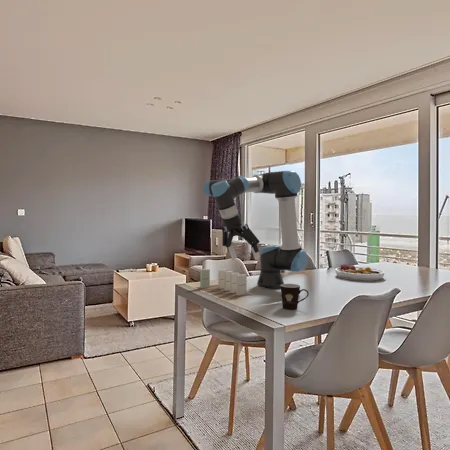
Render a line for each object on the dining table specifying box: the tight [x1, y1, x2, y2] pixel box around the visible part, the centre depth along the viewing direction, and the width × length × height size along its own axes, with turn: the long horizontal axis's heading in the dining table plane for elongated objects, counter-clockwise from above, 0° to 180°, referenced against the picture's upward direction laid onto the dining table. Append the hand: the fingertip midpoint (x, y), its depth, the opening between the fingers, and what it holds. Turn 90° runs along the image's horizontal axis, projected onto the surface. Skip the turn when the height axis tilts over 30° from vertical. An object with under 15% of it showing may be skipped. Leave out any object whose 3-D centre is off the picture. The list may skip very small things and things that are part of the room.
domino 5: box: [237, 273, 248, 295], centre depth 186 cm, size 2×5×10 cm, turn 122°
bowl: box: [335, 263, 385, 282], centre depth 241 cm, size 30×30×8 cm
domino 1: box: [199, 268, 211, 288], centre depth 202 cm, size 2×5×10 cm, turn 121°
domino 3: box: [224, 270, 235, 291], centre depth 196 cm, size 2×5×10 cm, turn 122°
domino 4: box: [230, 272, 241, 293], centre depth 191 cm, size 2×5×10 cm, turn 122°
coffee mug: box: [280, 283, 309, 311], centre depth 162 cm, size 12×9×10 cm
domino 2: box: [217, 269, 229, 289], centre depth 201 cm, size 2×5×10 cm, turn 122°
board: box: [194, 284, 253, 300], centre depth 194 cm, size 31×17×1 cm, turn 31°
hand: (246, 258), depth 166 cm, fingers open, 13 cm apart
